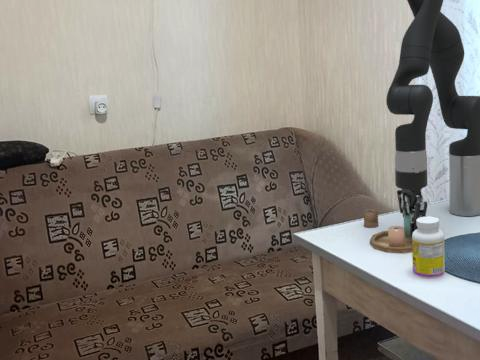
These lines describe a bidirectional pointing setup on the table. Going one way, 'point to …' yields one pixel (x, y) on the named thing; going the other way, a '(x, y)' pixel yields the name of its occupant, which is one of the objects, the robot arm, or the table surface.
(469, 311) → the table surface
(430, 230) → the supplement bottle
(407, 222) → the bead
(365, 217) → the bead
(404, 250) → the tray
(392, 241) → the bead
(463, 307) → the table surface
